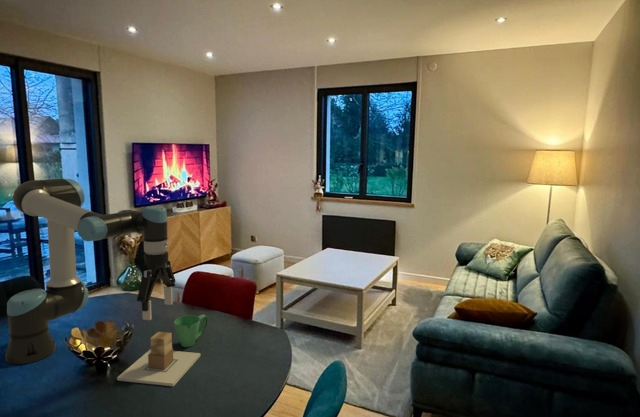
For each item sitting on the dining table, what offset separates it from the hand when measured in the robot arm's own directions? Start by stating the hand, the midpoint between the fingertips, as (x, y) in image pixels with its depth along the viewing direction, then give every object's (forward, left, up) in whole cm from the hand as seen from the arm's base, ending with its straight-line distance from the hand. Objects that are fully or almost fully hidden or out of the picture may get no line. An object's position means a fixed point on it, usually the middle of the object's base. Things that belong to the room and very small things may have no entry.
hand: (158, 311), depth 138 cm
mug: (+2, +20, -21) cm, 29 cm away
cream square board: (0, 0, -21) cm, 21 cm away
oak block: (+1, 0, -15) cm, 15 cm away
